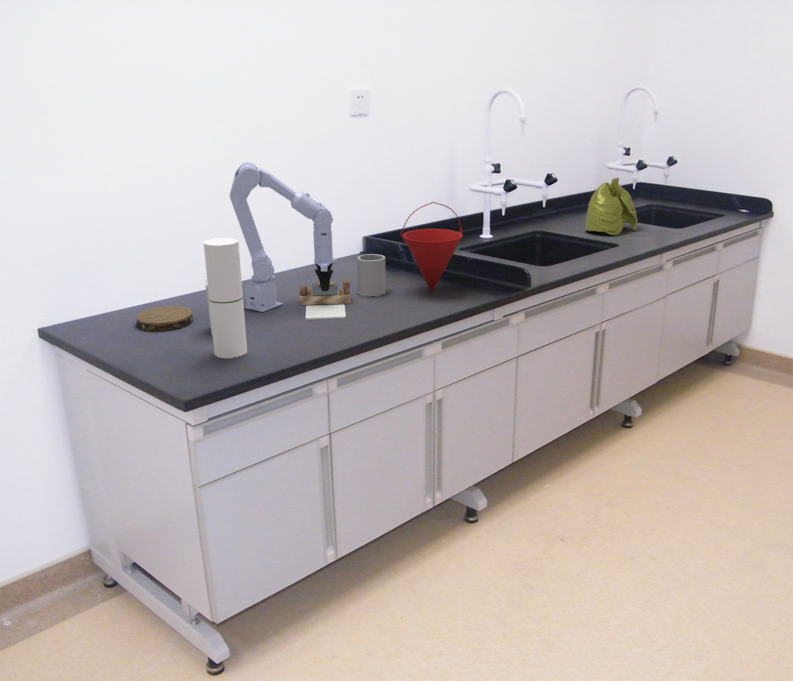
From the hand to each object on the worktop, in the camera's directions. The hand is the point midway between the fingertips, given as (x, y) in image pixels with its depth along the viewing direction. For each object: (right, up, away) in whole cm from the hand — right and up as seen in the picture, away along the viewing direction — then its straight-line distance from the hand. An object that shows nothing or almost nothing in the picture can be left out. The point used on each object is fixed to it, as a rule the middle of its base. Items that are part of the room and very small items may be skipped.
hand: (325, 287), depth 242 cm
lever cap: (0, -2, +1) cm, 2 cm away
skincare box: (-28, -14, -24) cm, 39 cm away
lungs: (+119, +31, +96) cm, 156 cm away
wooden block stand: (0, -4, +2) cm, 5 cm away
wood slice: (-46, -12, -17) cm, 50 cm away
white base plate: (+1, -9, -10) cm, 13 cm away
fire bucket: (+35, -1, +12) cm, 36 cm away
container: (-21, -20, -40) cm, 50 cm away
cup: (+15, -1, +11) cm, 18 cm away
